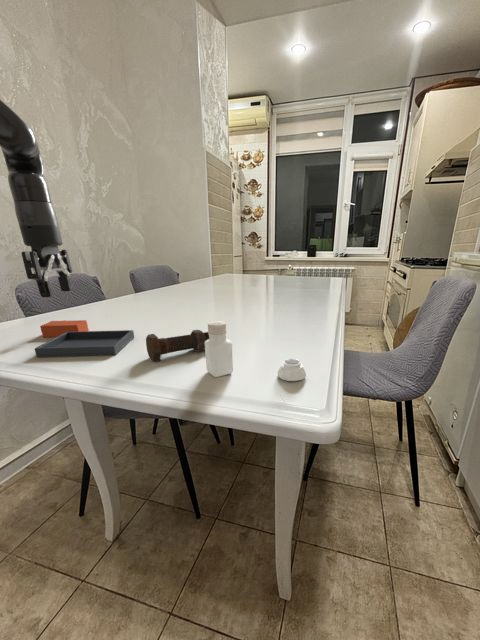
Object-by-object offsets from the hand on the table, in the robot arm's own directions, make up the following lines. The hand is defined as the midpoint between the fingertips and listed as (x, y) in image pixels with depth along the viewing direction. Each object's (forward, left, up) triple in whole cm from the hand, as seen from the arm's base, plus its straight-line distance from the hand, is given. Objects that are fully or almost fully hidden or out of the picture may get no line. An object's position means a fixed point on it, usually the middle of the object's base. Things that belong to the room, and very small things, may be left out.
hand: (57, 293), depth 73 cm
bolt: (+34, -17, -11) cm, 39 cm away
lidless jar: (+55, -31, -11) cm, 64 cm away
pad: (0, 0, -11) cm, 11 cm away
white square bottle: (+42, -28, -11) cm, 52 cm away
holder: (+11, -11, -11) cm, 19 cm away
